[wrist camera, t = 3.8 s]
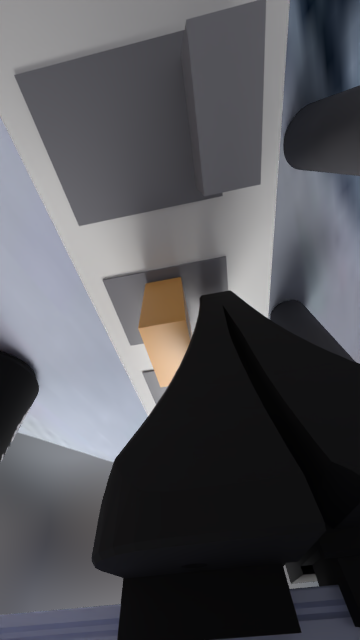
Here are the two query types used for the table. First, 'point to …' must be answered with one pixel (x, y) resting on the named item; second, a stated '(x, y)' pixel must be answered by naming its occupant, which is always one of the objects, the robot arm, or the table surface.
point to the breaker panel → (151, 146)
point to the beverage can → (14, 397)
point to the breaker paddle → (165, 327)
